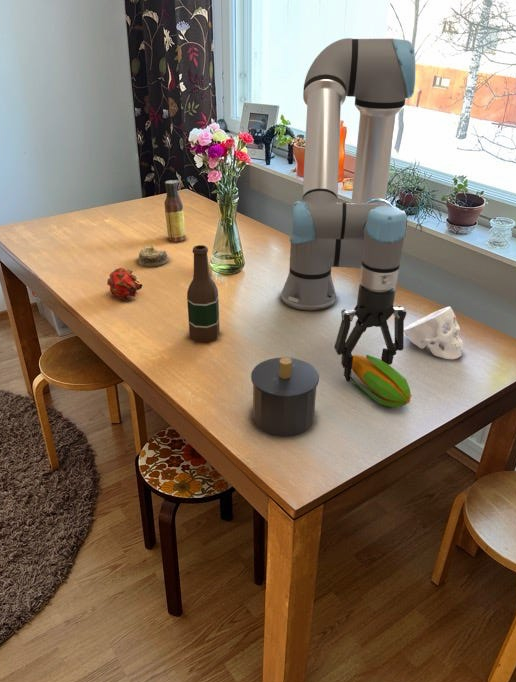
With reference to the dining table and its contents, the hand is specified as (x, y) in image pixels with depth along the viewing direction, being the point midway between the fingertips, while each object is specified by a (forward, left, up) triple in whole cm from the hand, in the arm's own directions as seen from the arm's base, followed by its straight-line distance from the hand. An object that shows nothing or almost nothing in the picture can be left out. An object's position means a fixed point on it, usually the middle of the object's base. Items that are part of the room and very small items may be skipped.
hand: (364, 376), depth 134 cm
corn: (+4, +1, -2) cm, 4 cm away
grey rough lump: (-76, -48, -2) cm, 89 cm away
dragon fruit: (-52, -56, -1) cm, 76 cm away
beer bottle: (-26, -35, -2) cm, 43 cm away
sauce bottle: (-94, -40, -1) cm, 102 cm away
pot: (+10, -21, -1) cm, 23 cm away
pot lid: (+10, -21, +9) cm, 25 cm away
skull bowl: (-13, +21, -1) cm, 25 cm away
